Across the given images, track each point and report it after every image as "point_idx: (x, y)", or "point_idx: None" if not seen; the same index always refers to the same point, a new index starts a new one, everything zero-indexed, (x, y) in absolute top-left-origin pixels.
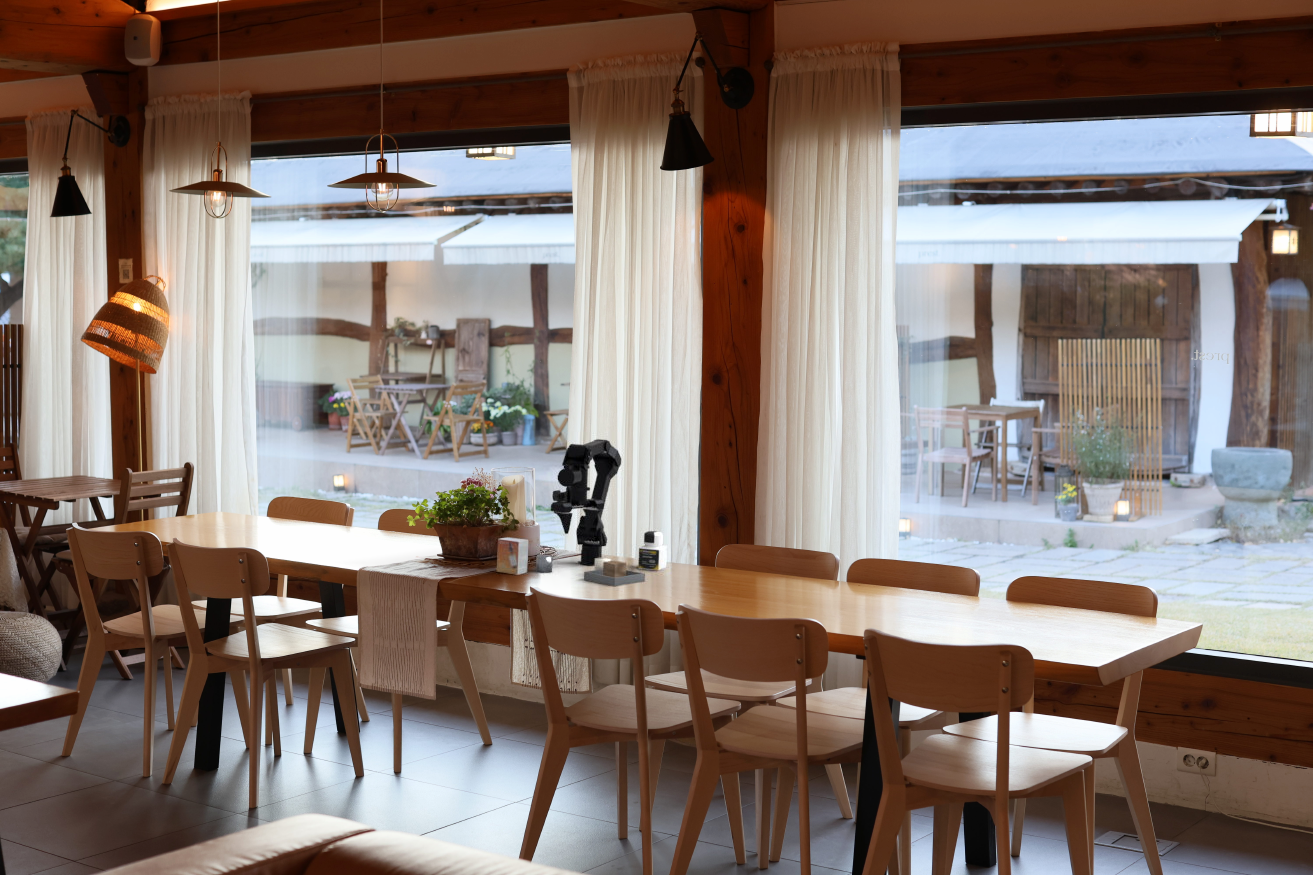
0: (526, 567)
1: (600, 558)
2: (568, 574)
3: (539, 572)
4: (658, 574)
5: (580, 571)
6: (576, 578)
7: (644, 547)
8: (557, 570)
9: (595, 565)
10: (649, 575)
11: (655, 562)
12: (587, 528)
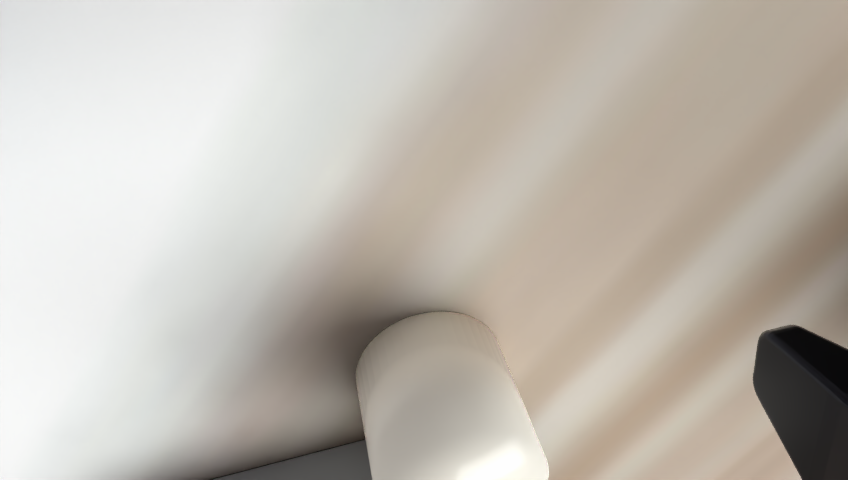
0: None
1: (461, 465)
2: (103, 278)
3: None
4: (790, 458)
5: (324, 180)
6: (99, 448)
7: None
8: (64, 15)
9: (367, 442)
10: (713, 471)
11: None
12: (797, 427)
